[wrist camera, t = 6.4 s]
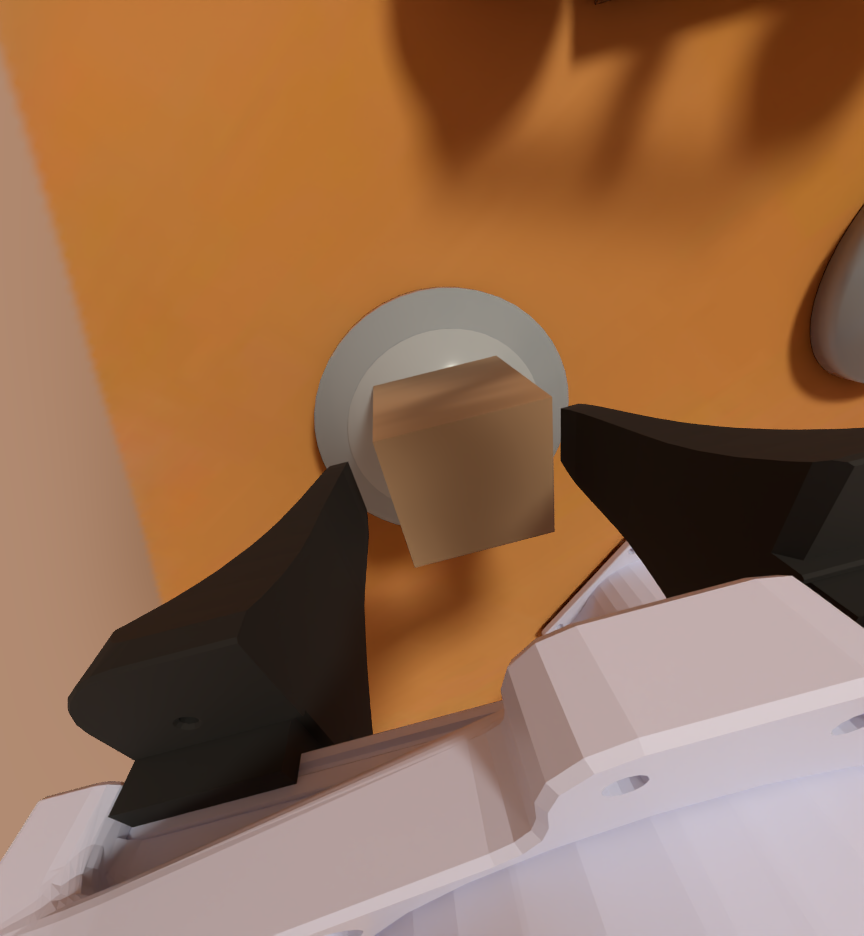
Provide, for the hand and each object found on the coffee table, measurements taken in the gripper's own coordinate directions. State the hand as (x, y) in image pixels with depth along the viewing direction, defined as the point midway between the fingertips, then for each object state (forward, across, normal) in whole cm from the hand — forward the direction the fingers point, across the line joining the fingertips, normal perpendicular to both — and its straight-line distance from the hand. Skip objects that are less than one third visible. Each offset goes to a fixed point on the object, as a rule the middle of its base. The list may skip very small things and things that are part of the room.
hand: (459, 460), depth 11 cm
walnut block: (+2, 0, 0) cm, 2 cm away
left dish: (+3, 0, 0) cm, 3 cm away
